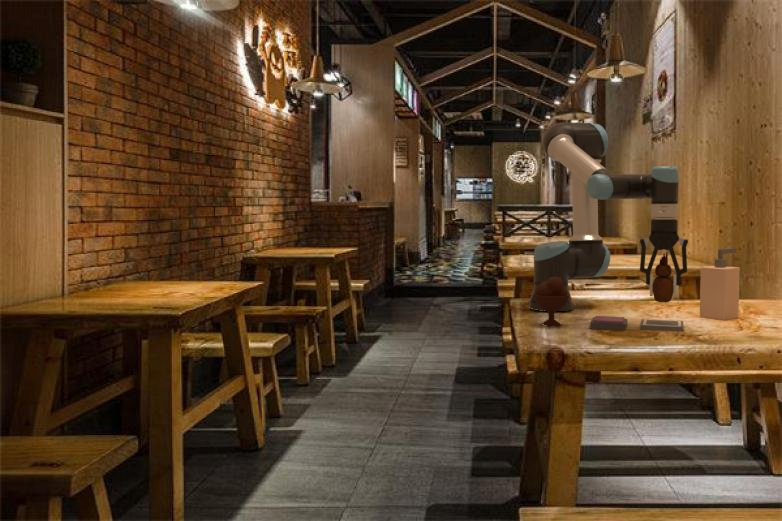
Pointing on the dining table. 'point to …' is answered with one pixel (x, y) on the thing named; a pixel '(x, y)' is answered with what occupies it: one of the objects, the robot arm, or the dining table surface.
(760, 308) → the dining table surface
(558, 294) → the ice cream bowl
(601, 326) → the ink pad
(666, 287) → the wooden figurine
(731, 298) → the soap dispenser
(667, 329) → the marked board
